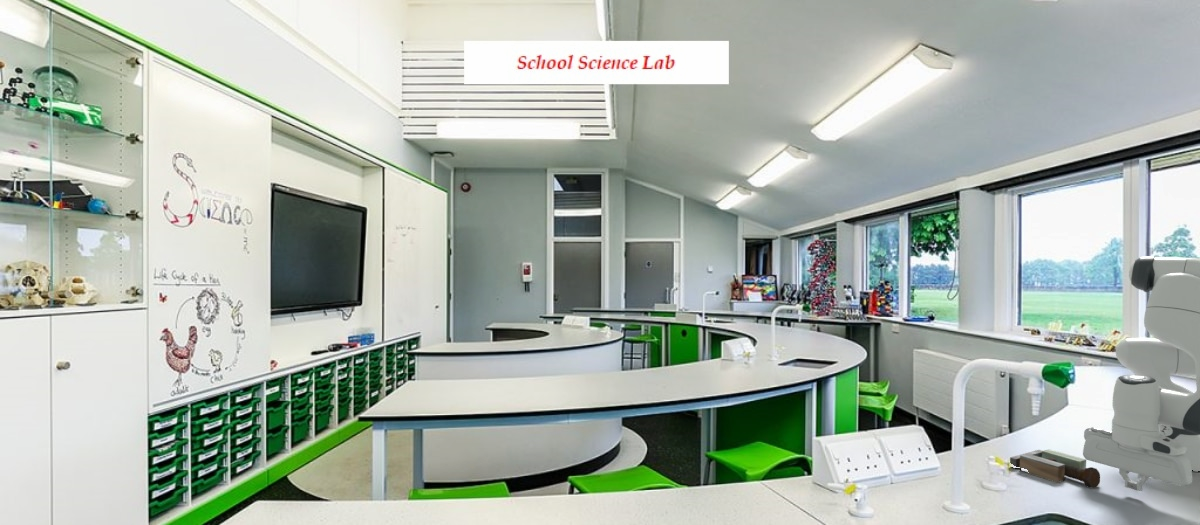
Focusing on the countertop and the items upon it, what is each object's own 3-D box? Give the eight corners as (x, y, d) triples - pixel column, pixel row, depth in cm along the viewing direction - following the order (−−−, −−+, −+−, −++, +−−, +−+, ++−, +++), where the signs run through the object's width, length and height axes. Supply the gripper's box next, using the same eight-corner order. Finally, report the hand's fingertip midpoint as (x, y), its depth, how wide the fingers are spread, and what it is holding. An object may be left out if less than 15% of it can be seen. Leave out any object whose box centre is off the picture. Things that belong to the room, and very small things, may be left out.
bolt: (1034, 472, 155) (1096, 492, 141) (1025, 466, 154) (1087, 485, 140) (1040, 455, 156) (1102, 472, 142) (1031, 448, 155) (1093, 465, 141)
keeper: (1038, 459, 161) (1039, 444, 161) (1085, 473, 151) (1086, 457, 151) (1009, 467, 154) (1010, 452, 154) (1057, 482, 143) (1057, 466, 143)
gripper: (1079, 426, 144) (1077, 475, 144) (1185, 451, 125) (1184, 508, 125) (1089, 423, 146) (1088, 471, 147) (1195, 448, 128) (1194, 503, 128)
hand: (1133, 488), depth 136 cm, fingers closed
